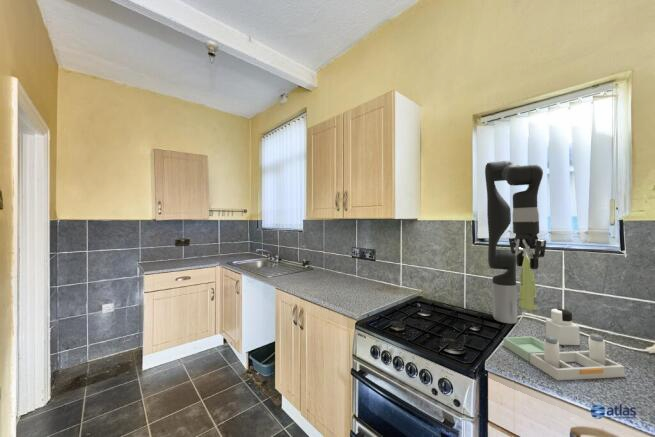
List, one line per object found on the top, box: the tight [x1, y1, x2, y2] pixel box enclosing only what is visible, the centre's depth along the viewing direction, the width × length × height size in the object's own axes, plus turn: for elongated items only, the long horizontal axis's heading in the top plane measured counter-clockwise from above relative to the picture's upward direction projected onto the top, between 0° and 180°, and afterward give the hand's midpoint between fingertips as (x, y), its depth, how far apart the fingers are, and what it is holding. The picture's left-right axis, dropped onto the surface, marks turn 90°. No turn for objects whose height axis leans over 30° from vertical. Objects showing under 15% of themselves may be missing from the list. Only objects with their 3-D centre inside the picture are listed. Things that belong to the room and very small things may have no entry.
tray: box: [503, 336, 561, 363], centre depth 91 cm, size 11×11×3 cm
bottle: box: [543, 335, 560, 369], centre depth 80 cm, size 4×4×10 cm
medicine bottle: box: [545, 308, 581, 346], centre depth 99 cm, size 7×7×12 cm
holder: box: [530, 350, 626, 381], centre depth 80 cm, size 10×21×3 cm, turn 93°
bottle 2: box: [588, 333, 607, 366], centre depth 81 cm, size 4×4×10 cm
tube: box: [519, 253, 538, 311], centre depth 92 cm, size 6×5×20 cm
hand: (527, 267), depth 92 cm, fingers closed on tube, 5 cm apart
